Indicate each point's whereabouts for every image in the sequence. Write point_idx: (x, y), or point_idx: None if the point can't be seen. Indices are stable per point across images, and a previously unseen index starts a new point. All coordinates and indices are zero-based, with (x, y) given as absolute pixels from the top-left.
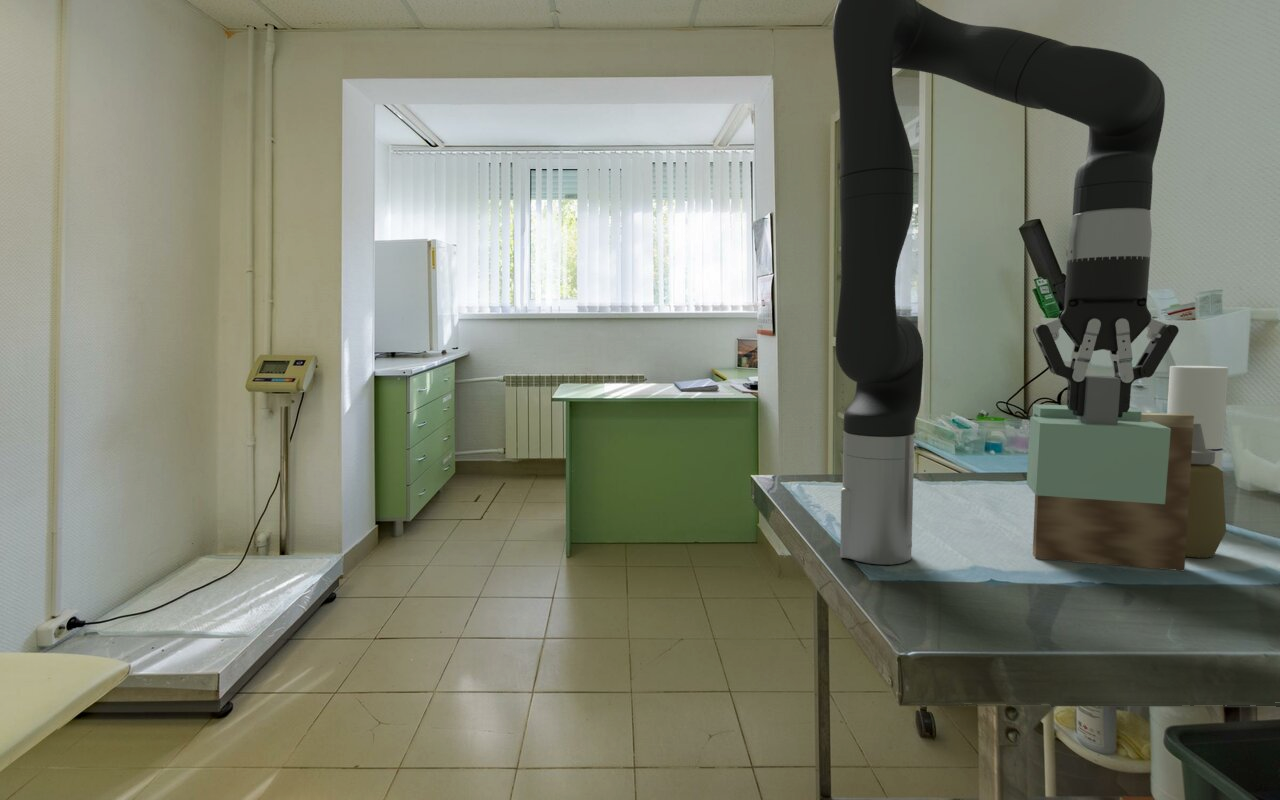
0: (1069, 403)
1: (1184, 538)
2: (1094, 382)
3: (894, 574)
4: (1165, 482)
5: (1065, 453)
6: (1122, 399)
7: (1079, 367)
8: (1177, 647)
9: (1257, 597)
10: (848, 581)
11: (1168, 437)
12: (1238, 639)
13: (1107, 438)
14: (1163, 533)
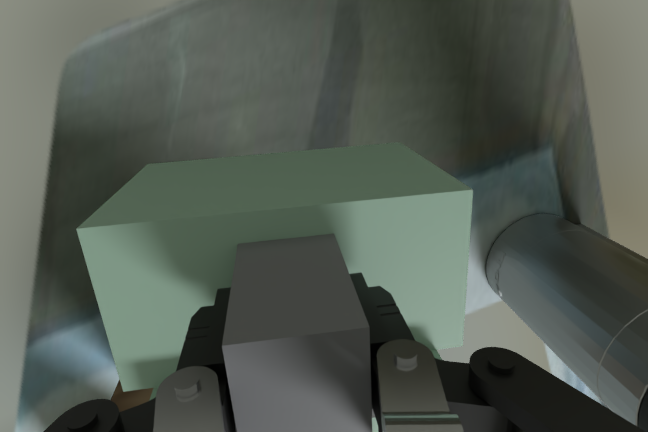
0: (393, 299)
1: (116, 393)
2: (336, 315)
3: (515, 185)
4: (135, 176)
5: (370, 171)
6: (214, 320)
7: (418, 391)
8: (177, 25)
9: (48, 283)
10: (580, 128)
11: (93, 215)
12: (94, 92)
13: (269, 196)
14: (144, 393)
